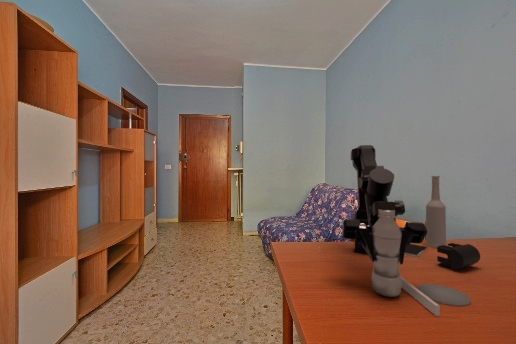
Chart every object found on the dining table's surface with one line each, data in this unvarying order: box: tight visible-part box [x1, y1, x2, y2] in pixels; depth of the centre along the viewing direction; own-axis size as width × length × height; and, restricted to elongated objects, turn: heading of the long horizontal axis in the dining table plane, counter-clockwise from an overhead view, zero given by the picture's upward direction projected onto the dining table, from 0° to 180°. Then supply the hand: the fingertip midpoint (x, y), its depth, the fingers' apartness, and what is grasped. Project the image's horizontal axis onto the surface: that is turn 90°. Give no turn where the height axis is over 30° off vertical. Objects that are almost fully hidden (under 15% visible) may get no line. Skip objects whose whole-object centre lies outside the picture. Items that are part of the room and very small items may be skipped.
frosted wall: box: [400, 275, 441, 317], centre depth 58 cm, size 18×1×2 cm, turn 178°
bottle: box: [425, 175, 447, 249], centre depth 99 cm, size 7×7×28 cm
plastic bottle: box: [370, 209, 403, 298], centre depth 58 cm, size 6×7×20 cm
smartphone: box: [404, 243, 428, 258], centre depth 93 cm, size 8×1×15 cm
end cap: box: [436, 242, 481, 271], centre depth 76 cm, size 10×7×7 cm
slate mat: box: [416, 283, 472, 307], centre depth 58 cm, size 10×10×1 cm
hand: (387, 262), depth 57 cm, fingers closed on plastic bottle, 6 cm apart
